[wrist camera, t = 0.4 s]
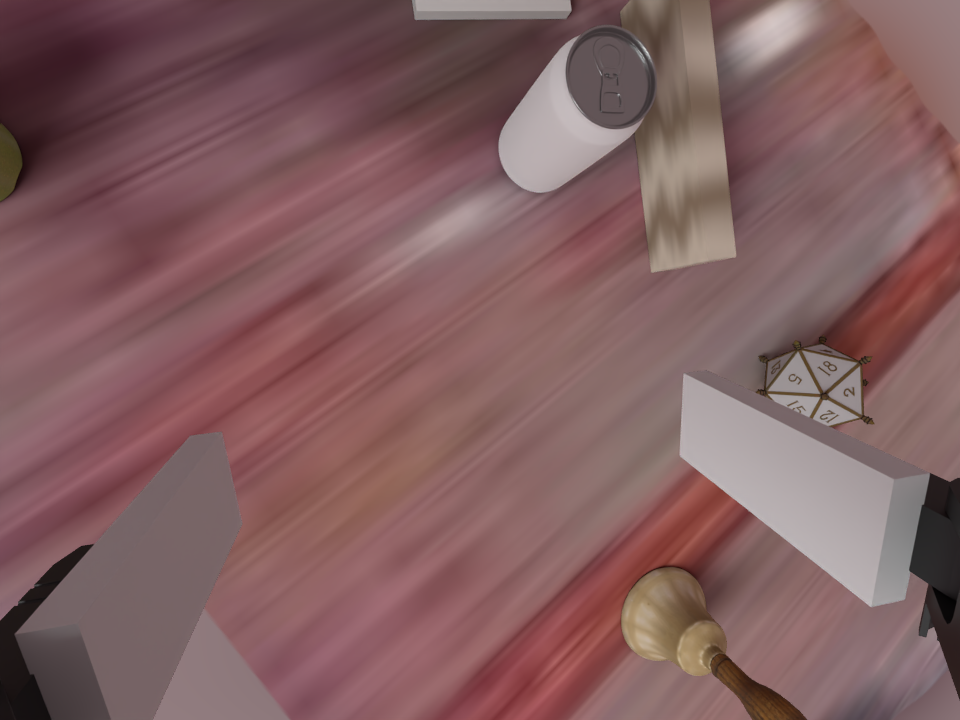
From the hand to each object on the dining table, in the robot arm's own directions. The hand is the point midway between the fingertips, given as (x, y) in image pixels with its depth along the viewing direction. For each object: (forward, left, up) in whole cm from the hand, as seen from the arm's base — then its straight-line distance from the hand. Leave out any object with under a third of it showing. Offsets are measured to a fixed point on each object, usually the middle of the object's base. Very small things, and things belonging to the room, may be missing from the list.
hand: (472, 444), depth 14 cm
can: (-16, +14, -24) cm, 32 cm away
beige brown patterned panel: (-16, +24, -24) cm, 37 cm away
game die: (+6, +34, -24) cm, 42 cm away
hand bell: (+24, +20, -24) cm, 40 cm away
